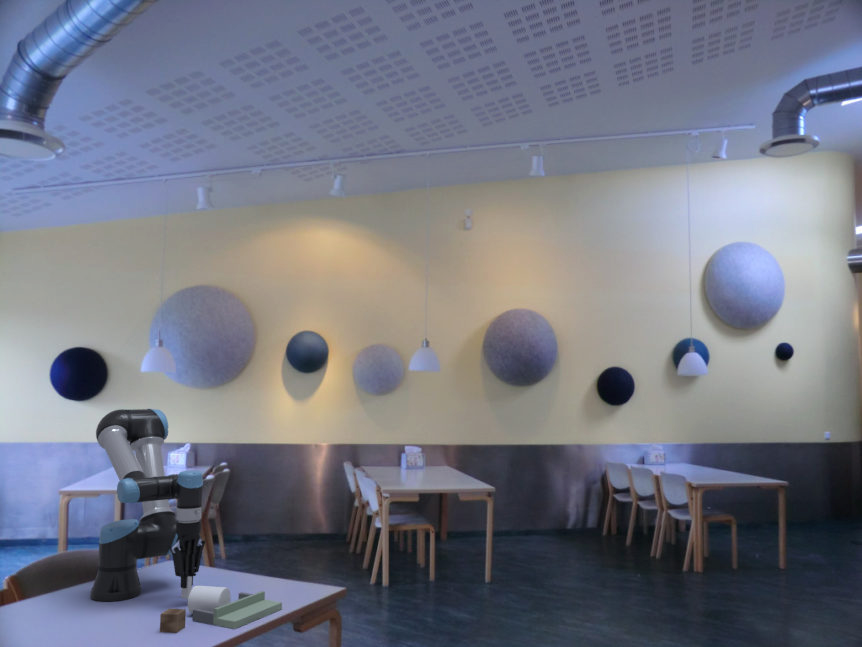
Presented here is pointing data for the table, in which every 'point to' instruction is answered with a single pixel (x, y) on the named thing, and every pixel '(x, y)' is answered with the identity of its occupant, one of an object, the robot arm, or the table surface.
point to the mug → (208, 598)
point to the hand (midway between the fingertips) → (186, 597)
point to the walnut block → (172, 620)
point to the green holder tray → (238, 611)
